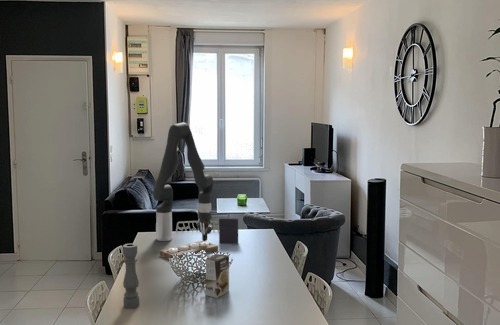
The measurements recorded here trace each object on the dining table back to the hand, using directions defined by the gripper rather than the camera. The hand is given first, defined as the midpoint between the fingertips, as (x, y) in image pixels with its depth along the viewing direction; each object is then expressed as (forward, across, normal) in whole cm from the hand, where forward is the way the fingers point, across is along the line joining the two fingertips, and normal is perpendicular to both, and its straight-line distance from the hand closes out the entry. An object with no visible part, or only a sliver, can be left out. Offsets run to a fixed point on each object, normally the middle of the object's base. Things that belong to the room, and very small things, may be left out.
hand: (204, 240), depth 275 cm
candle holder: (+5, +43, -70) cm, 82 cm away
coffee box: (+5, +56, -36) cm, 67 cm away
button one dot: (+4, 0, 0) cm, 4 cm away
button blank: (+3, 0, -14) cm, 15 cm away
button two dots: (+3, 0, -21) cm, 22 cm away
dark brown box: (+5, 0, +18) cm, 19 cm away
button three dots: (+3, 0, -7) cm, 8 cm away
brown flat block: (+5, 0, -11) cm, 12 cm away
